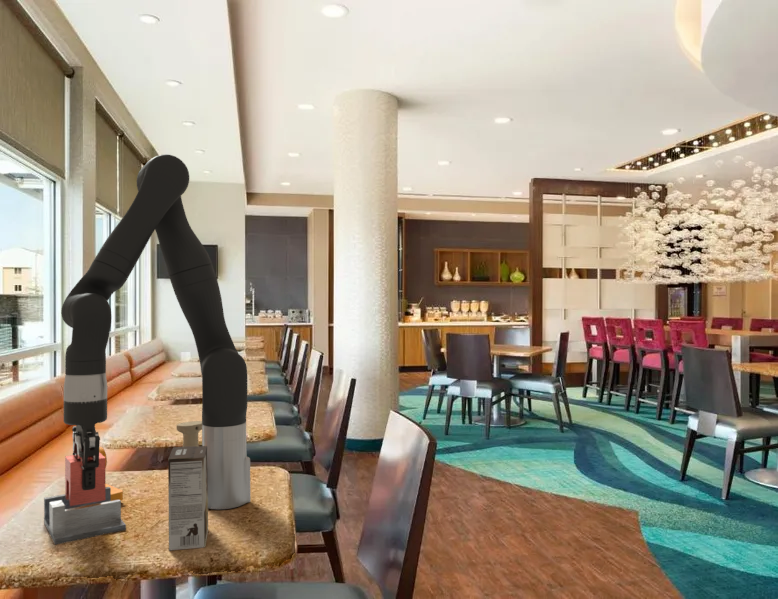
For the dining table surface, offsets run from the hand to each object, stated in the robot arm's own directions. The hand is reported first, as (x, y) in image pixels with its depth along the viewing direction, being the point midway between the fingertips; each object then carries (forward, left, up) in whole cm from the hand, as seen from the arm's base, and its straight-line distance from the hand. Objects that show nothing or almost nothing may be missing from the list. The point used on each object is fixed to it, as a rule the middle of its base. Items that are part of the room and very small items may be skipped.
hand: (85, 484), depth 118 cm
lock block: (0, 0, -3) cm, 3 cm away
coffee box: (-14, +17, -9) cm, 24 cm away
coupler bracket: (0, -2, -9) cm, 9 cm away
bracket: (-5, -17, -9) cm, 20 cm away
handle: (-25, -15, -9) cm, 30 cm away
